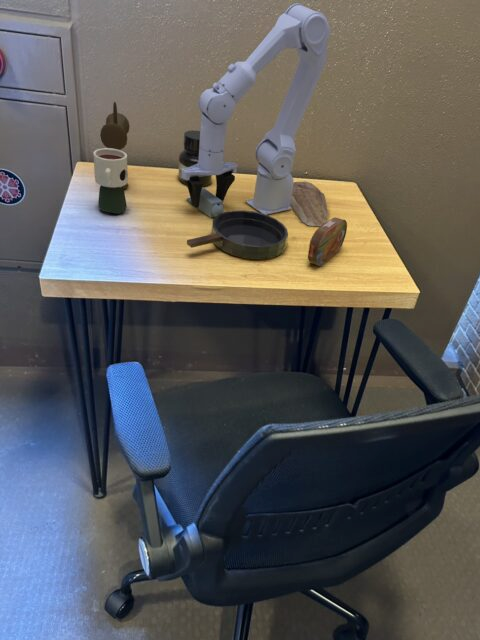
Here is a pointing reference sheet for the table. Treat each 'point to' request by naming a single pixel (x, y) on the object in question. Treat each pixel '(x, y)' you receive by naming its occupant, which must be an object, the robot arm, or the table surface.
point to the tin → (327, 241)
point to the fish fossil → (309, 203)
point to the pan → (250, 234)
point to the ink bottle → (191, 155)
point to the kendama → (115, 131)
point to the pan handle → (204, 240)
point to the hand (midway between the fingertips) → (207, 203)
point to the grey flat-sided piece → (209, 204)
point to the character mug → (111, 179)
